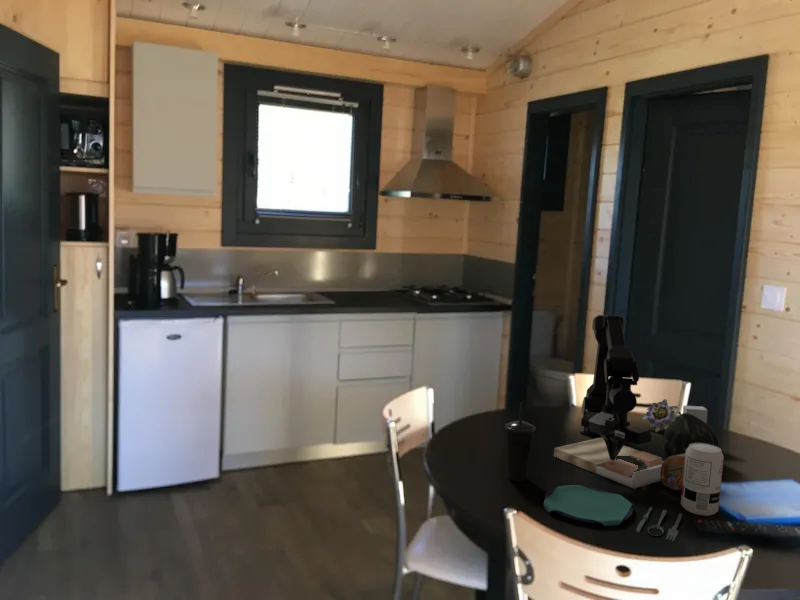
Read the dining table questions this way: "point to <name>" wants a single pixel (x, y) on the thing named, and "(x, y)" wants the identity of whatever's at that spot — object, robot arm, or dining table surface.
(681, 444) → the squash
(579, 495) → the cutlery set
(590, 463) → the board
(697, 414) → the skincare box
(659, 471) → the tray
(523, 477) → the drinking cup
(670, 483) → the snack packet
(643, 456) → the far tile
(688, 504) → the supplement can
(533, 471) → the dining table surface
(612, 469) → the near tile
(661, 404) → the passion flower
